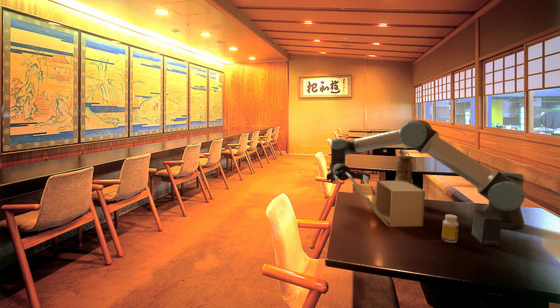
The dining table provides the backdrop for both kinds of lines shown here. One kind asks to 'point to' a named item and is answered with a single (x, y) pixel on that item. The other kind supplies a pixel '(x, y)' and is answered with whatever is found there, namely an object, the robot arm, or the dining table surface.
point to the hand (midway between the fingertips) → (352, 181)
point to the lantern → (404, 168)
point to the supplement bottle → (450, 228)
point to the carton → (400, 203)
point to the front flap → (367, 199)
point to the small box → (486, 227)
